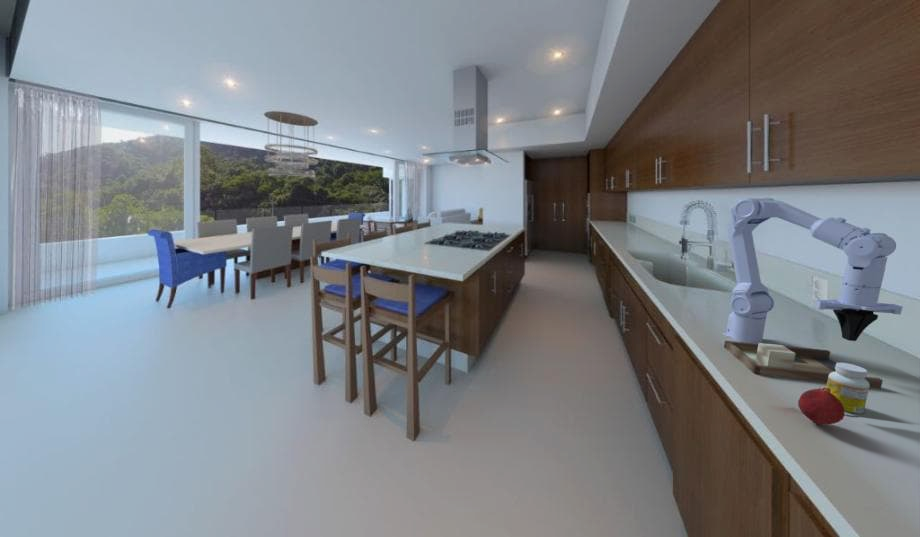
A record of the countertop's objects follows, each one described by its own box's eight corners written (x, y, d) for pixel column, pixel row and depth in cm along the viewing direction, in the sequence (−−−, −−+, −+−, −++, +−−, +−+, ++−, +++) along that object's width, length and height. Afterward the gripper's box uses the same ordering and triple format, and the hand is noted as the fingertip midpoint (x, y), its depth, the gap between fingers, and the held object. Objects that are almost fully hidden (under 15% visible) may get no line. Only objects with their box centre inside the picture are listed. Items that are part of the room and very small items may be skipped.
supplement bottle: (865, 422, 62) (877, 376, 60) (824, 411, 65) (834, 368, 64) (858, 408, 66) (868, 366, 64) (820, 399, 69) (828, 358, 68)
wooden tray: (723, 350, 94) (725, 340, 93) (825, 360, 86) (827, 350, 86) (753, 377, 79) (755, 366, 78) (879, 392, 72) (882, 380, 71)
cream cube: (755, 360, 85) (758, 343, 84) (779, 363, 83) (782, 345, 83) (766, 369, 80) (770, 351, 79) (791, 372, 79) (795, 353, 78)
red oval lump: (803, 428, 60) (811, 390, 59) (790, 411, 65) (797, 375, 64) (847, 438, 58) (856, 398, 56) (830, 419, 63) (838, 382, 61)
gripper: (834, 287, 73) (822, 342, 76) (921, 291, 69) (906, 349, 71) (812, 280, 80) (802, 331, 82) (890, 283, 76) (877, 337, 78)
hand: (848, 339), depth 77 cm, fingers closed
